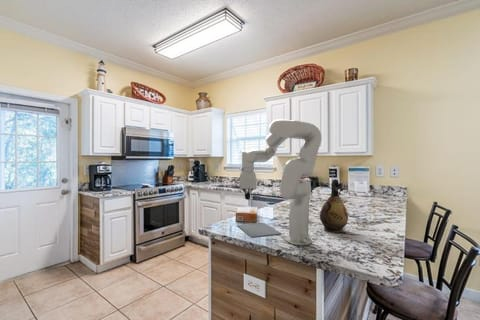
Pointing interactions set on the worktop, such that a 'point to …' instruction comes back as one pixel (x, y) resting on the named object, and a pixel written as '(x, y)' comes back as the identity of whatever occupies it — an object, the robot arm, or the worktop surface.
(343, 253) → the worktop surface
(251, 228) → the mat
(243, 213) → the cracker box
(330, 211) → the ceramic jug
